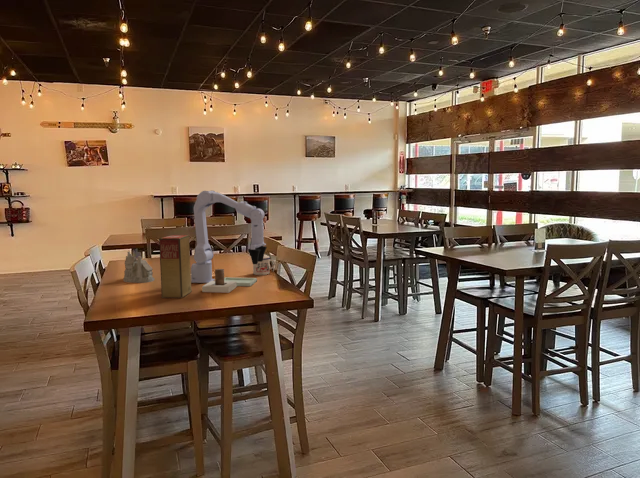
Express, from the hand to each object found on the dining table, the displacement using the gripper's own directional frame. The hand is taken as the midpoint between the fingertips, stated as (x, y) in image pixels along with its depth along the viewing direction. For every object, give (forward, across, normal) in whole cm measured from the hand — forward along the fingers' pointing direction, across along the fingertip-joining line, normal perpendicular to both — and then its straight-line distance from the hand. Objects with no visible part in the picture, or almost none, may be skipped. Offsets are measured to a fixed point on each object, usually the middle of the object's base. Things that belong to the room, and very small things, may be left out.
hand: (257, 262), depth 224 cm
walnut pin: (+10, -16, +12) cm, 23 cm away
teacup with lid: (+10, +25, +5) cm, 27 cm away
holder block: (+10, -16, +12) cm, 23 cm away
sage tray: (+10, -2, +10) cm, 14 cm away
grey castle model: (+10, -3, +60) cm, 61 cm away
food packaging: (+10, -29, +26) cm, 41 cm away
